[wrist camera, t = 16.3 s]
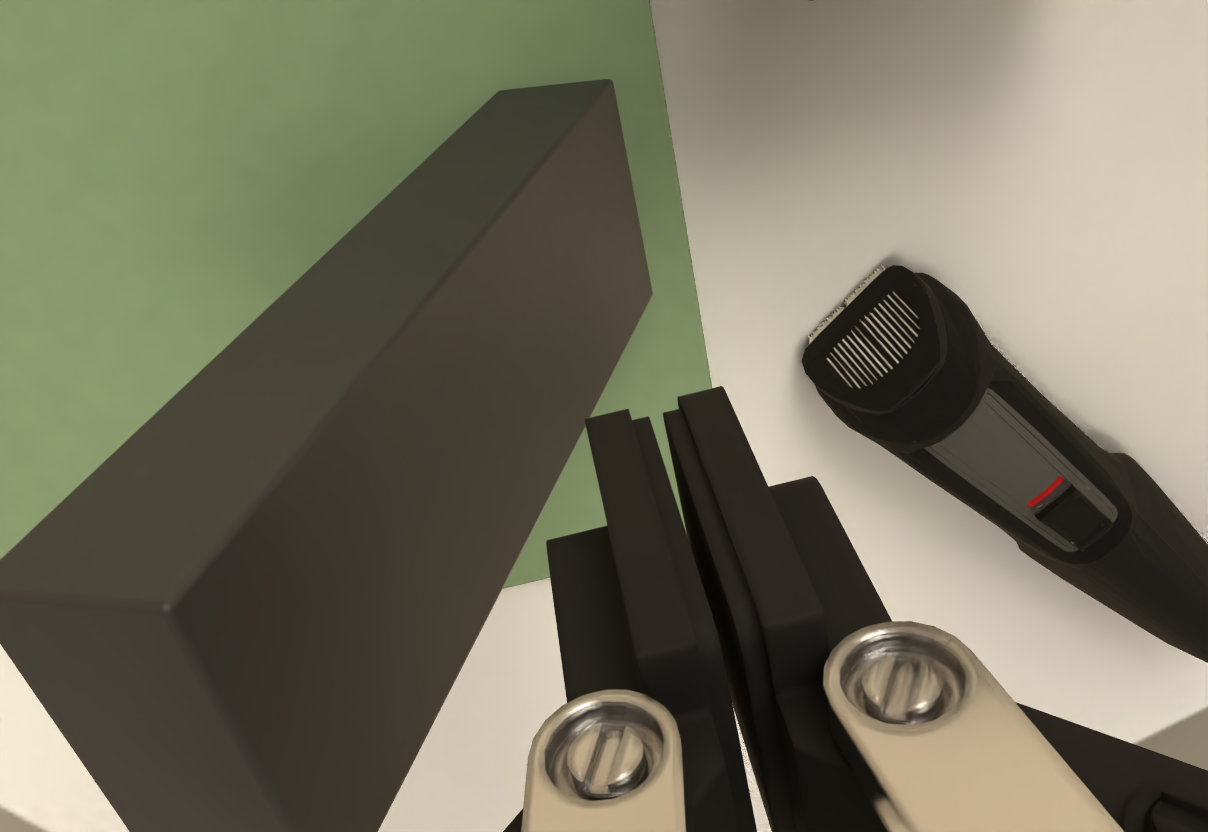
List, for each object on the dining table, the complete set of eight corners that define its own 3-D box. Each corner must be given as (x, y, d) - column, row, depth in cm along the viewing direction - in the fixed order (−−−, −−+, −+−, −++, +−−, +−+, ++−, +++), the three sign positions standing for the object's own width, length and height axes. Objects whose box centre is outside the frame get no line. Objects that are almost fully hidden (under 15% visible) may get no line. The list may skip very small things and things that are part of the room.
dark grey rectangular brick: (480, 90, 21) (-68, 589, 10) (614, 76, 20) (164, 608, 9) (533, 299, 23) (136, 878, 13) (654, 295, 23) (338, 916, 12)
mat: (-546, -192, 17) (-561, -191, 17) (574, -448, 17) (576, -452, 17) (48, 687, 28) (44, 696, 27) (733, 527, 28) (736, 534, 27)
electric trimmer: (1133, 635, 32) (1198, 716, 29) (782, 360, 25) (824, 434, 23) (1241, 554, 31) (1318, 631, 28) (901, 242, 24) (961, 305, 21)
